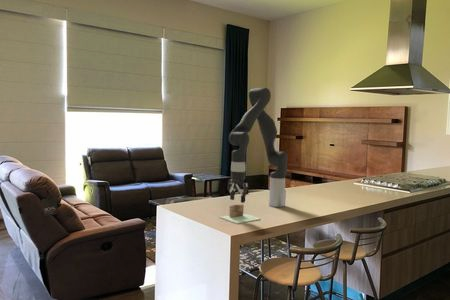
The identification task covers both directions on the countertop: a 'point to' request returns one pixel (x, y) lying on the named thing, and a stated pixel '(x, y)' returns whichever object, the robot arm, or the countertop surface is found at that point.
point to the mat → (240, 218)
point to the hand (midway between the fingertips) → (237, 201)
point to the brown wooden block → (236, 210)
